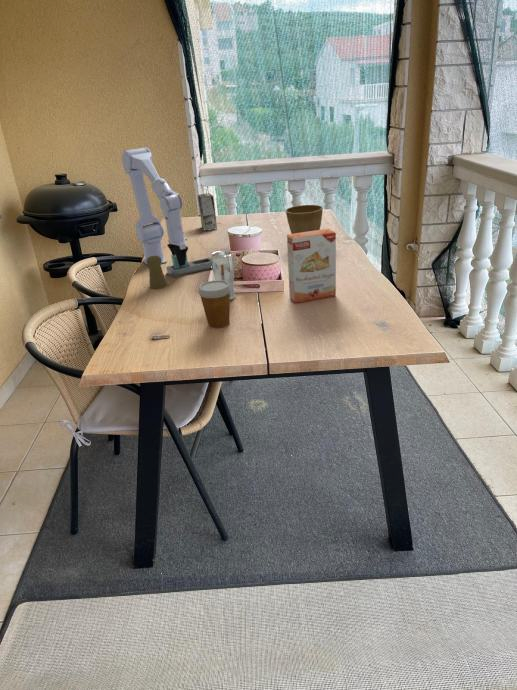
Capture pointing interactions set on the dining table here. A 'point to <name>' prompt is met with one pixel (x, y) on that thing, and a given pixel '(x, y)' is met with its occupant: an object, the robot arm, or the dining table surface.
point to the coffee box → (207, 211)
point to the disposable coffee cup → (216, 302)
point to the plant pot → (304, 218)
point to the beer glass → (224, 268)
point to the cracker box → (312, 265)
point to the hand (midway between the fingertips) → (180, 263)
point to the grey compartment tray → (190, 267)
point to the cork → (156, 272)
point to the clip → (175, 262)
